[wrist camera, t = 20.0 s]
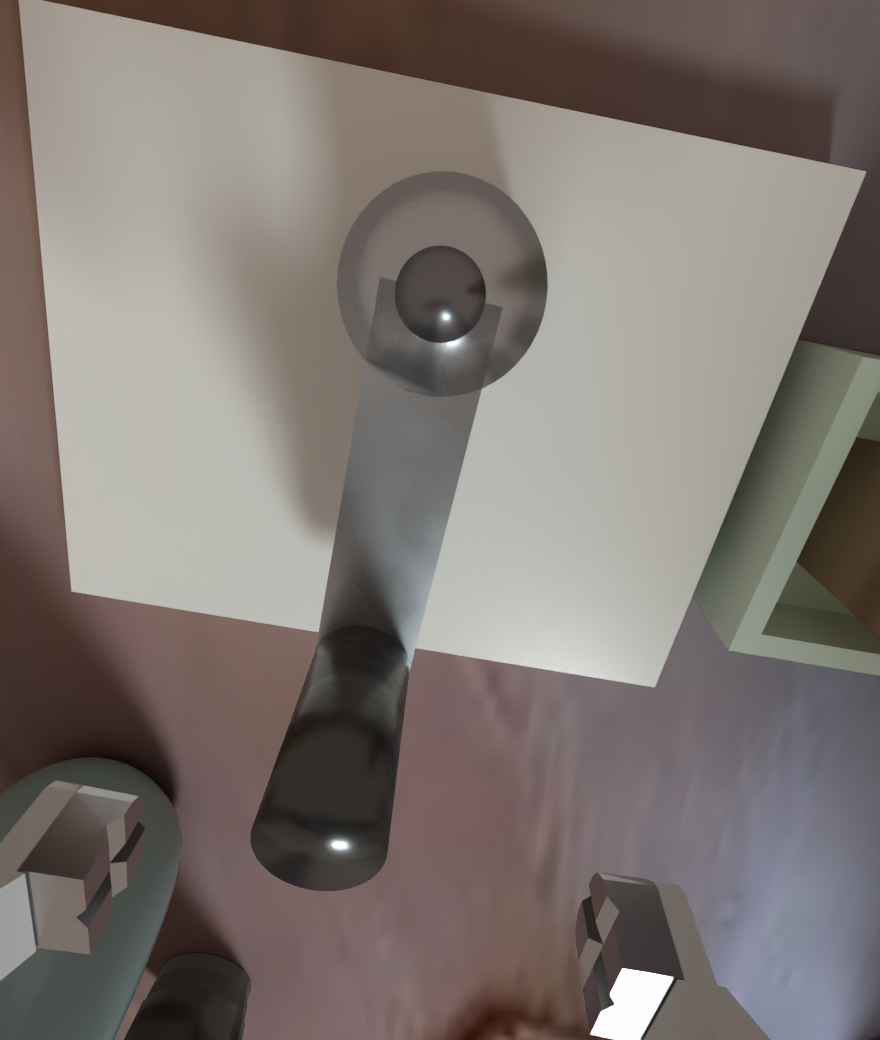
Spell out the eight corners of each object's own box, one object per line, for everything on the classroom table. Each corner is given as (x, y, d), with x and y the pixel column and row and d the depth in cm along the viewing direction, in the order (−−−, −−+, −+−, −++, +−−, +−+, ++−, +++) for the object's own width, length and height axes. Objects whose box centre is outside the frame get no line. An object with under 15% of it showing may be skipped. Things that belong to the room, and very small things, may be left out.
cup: (243, 834, 25) (122, 1159, 16) (96, 879, 27) (-91, 1201, 18) (134, 700, 23) (-85, 1004, 14) (-24, 759, 24) (-318, 1068, 15)
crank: (379, 169, 14) (275, 63, 6) (549, 213, 14) (662, 165, 6) (307, 613, 18) (200, 870, 11) (434, 639, 19) (416, 907, 11)
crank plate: (829, 178, 15) (869, 170, 14) (642, 659, 21) (655, 689, 20) (60, 20, 14) (15, -7, 13) (97, 568, 20) (69, 593, 19)
